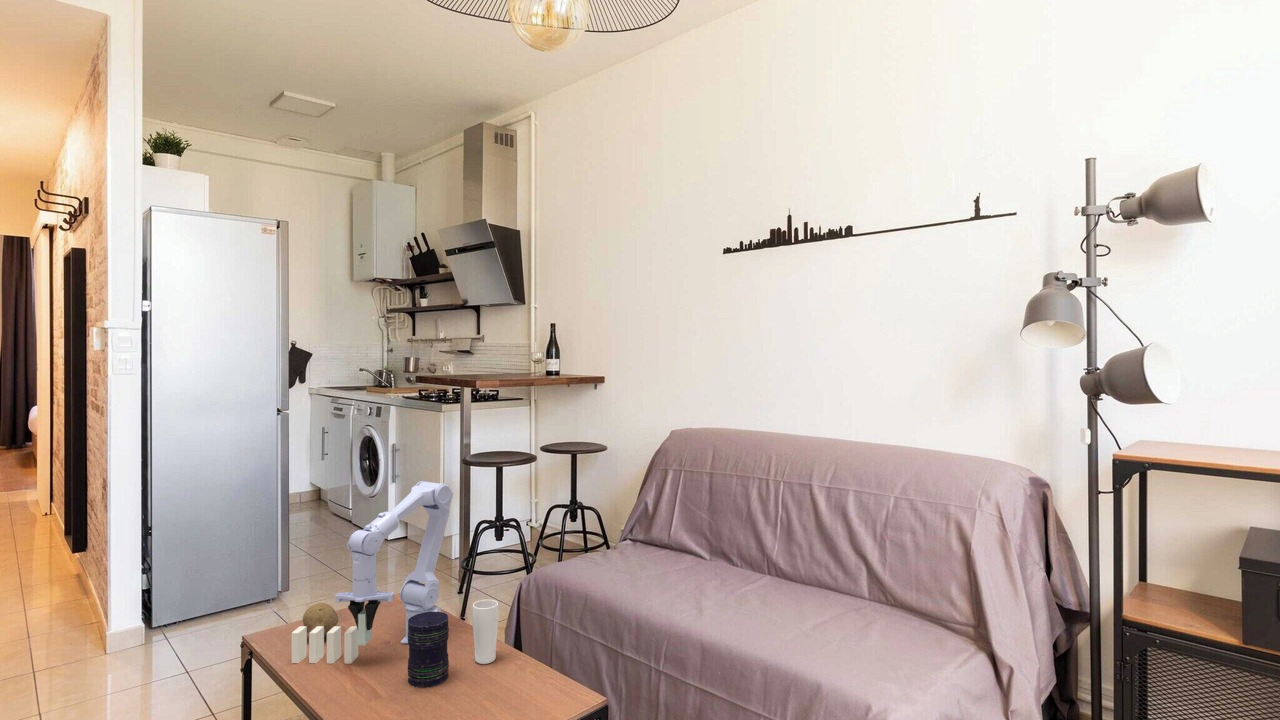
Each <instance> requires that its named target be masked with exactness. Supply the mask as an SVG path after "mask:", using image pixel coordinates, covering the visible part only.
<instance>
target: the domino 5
mask: <svg viewBox="0 0 1280 720" xmlns="http://www.w3.org/2000/svg"><path fill="white" fill-rule="evenodd" d="M366 620H367V619H366V611H365V607H364V609H363V610H362V611H361V612H360V613H359V614H358V646H366V645H367V644H368V643H369V642H370V641H371V640H372V638H373V627H372V628H371V629H370V630H367V626H366Z"/></svg>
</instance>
